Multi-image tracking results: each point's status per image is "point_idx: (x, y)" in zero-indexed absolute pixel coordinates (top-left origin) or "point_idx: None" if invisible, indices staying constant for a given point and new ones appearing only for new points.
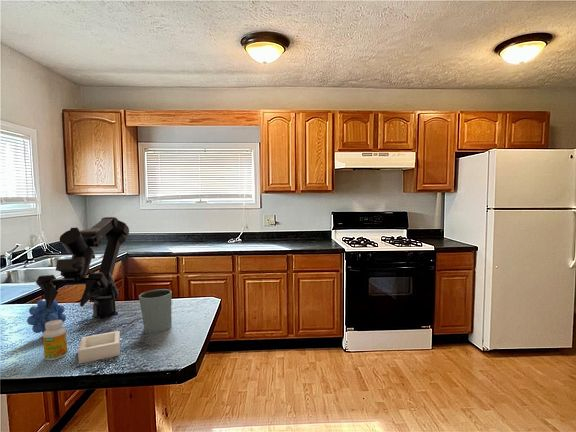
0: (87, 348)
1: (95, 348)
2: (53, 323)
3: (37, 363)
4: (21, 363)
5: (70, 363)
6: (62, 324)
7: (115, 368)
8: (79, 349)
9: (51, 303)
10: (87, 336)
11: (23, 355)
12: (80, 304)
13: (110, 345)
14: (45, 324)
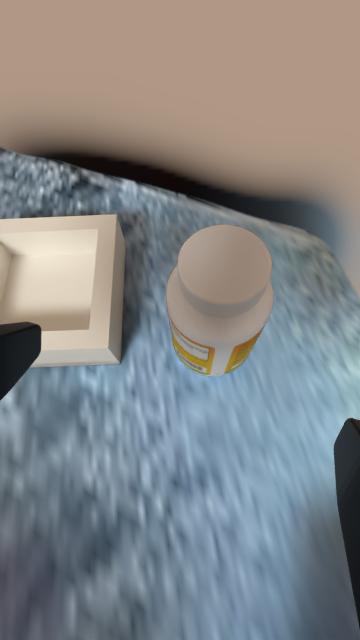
0: (85, 219)
1: (60, 219)
2: (220, 241)
3: None
4: (323, 330)
5: (151, 257)
6: (177, 272)
7: (31, 178)
8: (112, 222)
9: (348, 509)
10: (84, 345)
11: (353, 413)
12: (31, 325)
13: (10, 221)
14: (265, 246)
